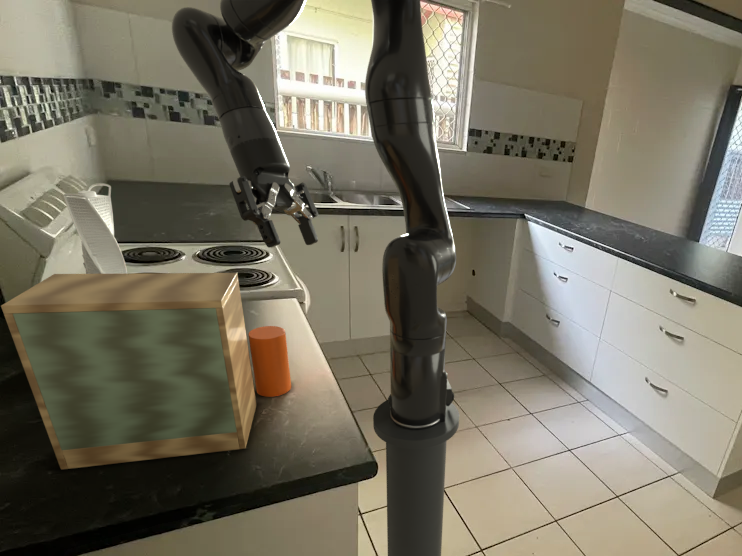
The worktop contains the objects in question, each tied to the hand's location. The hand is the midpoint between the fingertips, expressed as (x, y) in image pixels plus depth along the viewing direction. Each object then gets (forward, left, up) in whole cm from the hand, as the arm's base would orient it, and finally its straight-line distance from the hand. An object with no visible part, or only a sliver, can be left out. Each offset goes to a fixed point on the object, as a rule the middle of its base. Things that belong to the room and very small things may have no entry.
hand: (294, 244), depth 77 cm
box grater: (+41, -40, -26) cm, 63 cm away
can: (+5, +1, -26) cm, 26 cm away
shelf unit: (+18, +12, -26) cm, 34 cm away
